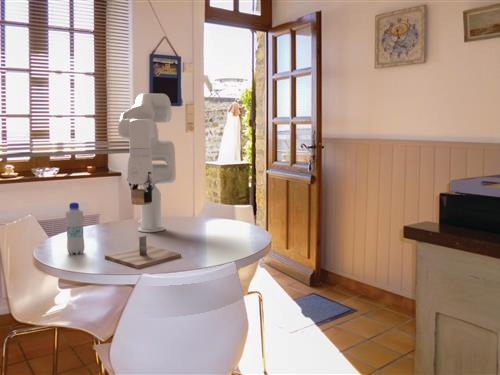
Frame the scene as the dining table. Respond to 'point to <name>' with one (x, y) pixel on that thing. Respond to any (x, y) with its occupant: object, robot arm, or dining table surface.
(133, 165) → the robot arm
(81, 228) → the bottle
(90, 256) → the dining table surface
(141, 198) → the collar
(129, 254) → the post board
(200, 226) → the dining table surface
